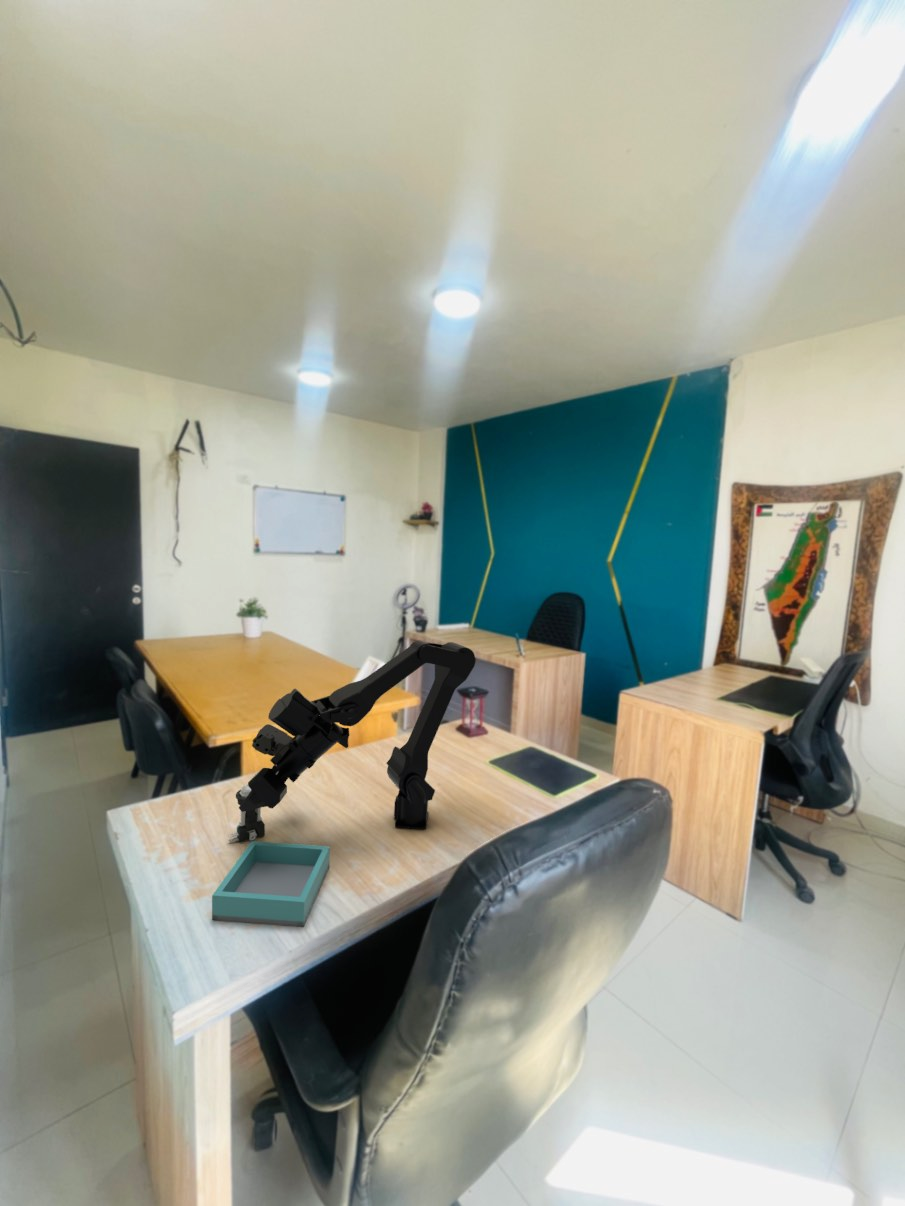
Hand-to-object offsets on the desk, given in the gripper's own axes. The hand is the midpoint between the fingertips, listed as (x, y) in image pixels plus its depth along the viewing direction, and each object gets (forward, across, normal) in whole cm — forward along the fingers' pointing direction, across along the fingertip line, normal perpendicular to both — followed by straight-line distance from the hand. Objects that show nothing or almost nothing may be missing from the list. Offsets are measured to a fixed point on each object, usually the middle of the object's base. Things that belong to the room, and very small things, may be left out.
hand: (251, 797), depth 95 cm
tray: (-1, +14, +13) cm, 19 cm away
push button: (+7, 0, +6) cm, 9 cm away
